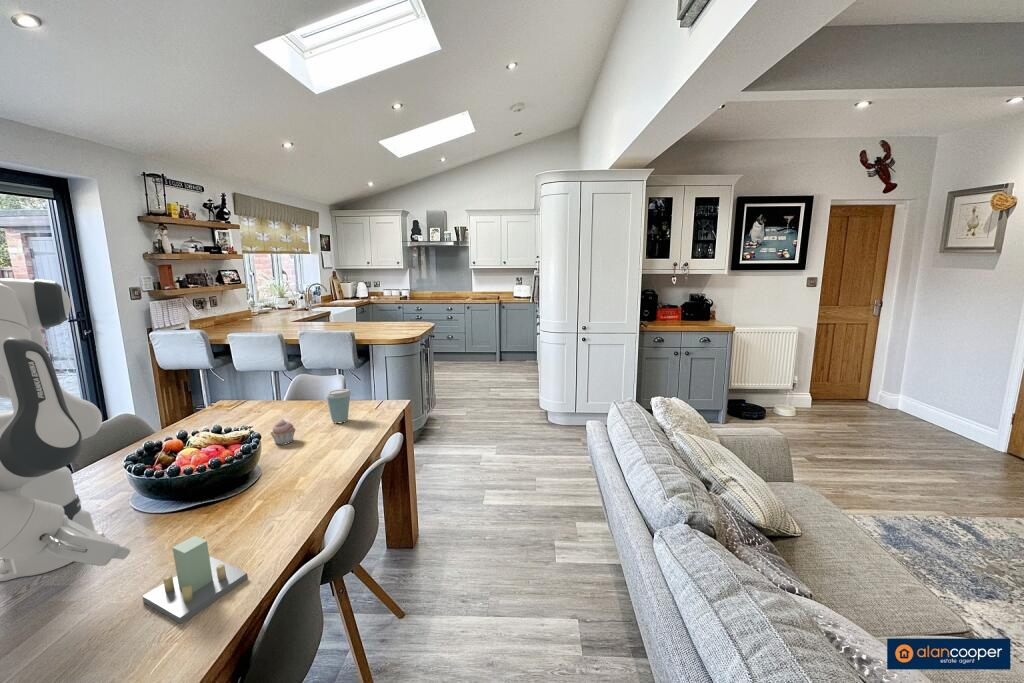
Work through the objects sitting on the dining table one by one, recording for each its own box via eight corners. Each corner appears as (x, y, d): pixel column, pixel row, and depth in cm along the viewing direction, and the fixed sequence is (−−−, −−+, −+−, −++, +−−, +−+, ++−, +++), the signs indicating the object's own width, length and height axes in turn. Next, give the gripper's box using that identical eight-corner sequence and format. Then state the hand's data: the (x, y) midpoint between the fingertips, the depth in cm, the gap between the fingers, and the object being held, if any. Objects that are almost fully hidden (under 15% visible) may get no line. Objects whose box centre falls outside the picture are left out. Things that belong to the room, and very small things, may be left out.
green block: (179, 587, 94) (172, 547, 93) (200, 574, 98) (194, 535, 97) (191, 594, 93) (184, 553, 91) (212, 580, 97) (206, 540, 95)
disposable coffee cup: (323, 422, 197) (320, 391, 194) (344, 415, 206) (341, 385, 203) (337, 427, 191) (334, 395, 188) (357, 420, 200) (355, 389, 197)
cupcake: (302, 438, 179) (299, 415, 178) (286, 447, 170) (284, 424, 169) (282, 436, 181) (279, 414, 179) (266, 446, 172) (263, 422, 170)
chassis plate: (143, 602, 92) (139, 583, 92) (211, 561, 105) (208, 545, 104) (181, 624, 87) (177, 604, 86) (247, 578, 99) (245, 561, 98)
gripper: (74, 525, 68) (155, 544, 79) (19, 497, 77) (99, 517, 87) (41, 568, 65) (130, 581, 76) (-13, 533, 74) (74, 550, 84)
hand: (113, 546), depth 81 cm, fingers open, 8 cm apart
